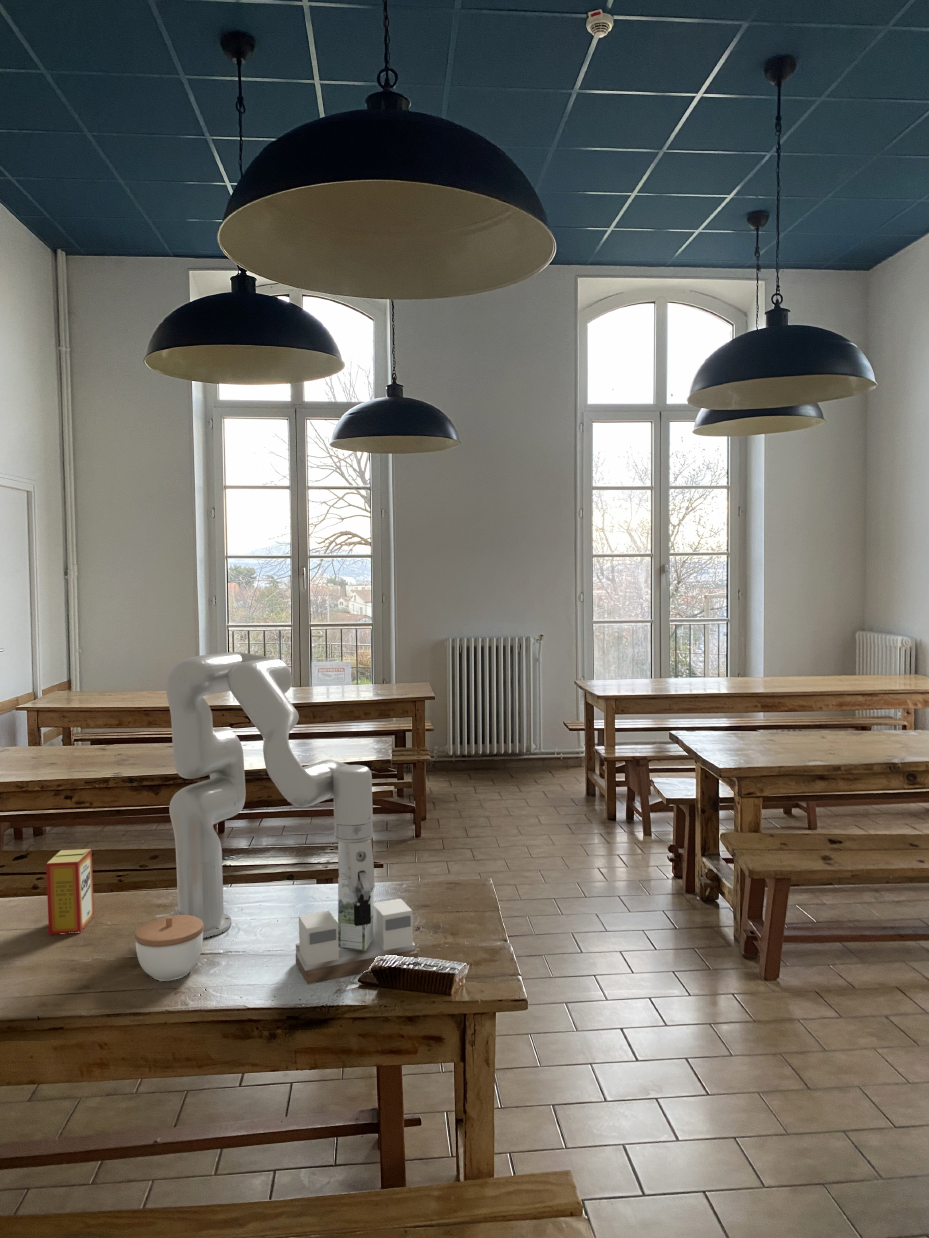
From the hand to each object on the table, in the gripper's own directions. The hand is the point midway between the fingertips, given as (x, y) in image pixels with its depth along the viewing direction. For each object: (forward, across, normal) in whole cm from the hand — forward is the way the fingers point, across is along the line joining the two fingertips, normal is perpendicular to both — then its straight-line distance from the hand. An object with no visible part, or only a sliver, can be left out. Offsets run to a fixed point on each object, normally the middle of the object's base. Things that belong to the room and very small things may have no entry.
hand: (355, 915), depth 173 cm
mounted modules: (+6, 0, 0) cm, 6 cm away
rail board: (+9, 0, 0) cm, 9 cm away
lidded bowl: (+10, +11, +34) cm, 37 cm away
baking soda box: (+10, +45, +52) cm, 69 cm away
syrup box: (+6, 0, 0) cm, 6 cm away
